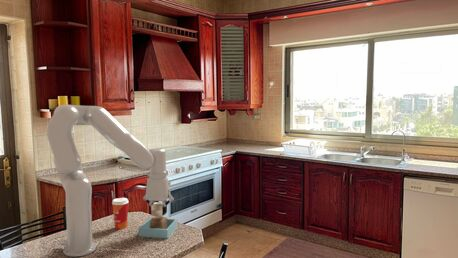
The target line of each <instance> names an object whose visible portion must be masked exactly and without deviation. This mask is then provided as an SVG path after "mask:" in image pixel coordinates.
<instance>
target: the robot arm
mask: <svg viewBox="0 0 458 258" xmlns="http://www.w3.org/2000/svg"><path fill="white" fill-rule="evenodd" d="M74 126H92V127H93V128H94V129H95V130H96V131H97V132H98V133H99V134H100V135H101V136H102V137H103V138H104V139H106V141H108V142H109V143H110V144H111V145H112V146H113V147H115V148H116V149H118V150H119V151H121V152H122V153H124V155H126V156H128V158H129V159H130V161H131V163H132V164H133V165H135V166H136V167H138V168H139V169H143V170H147V169H149V171H148V172H146V176H148V177H147V182H146V188H145V195H144V196H143V197H142V199H143V200H144V201H145V202H146V203H147V204H148V206H149V212H150V213H151V205H152V204H154V203H155V202H156V201H157V202H162V203H163V207H162V209H163V216H165V215H166V214H167V212H168V205H169V204H170V203H172V201H174V197H173V196H172V194H171V193H170V192H171V191H170V190H171V189H170V182H169V179H168V177H167V158H166V157H167V153H166V152H167V151H166V150H165V149H164V148H161V147H160V148H158V147H157V148H150V149H149V148H148V149H147V147H145V146H144V144H142V142H140V141H139V140H138V139H137V138H136V137H135V136H133V134H132V133H131V132H129V131H128V130H127V129H126V128H125V127H124V126H123V125H122V124H121V123H120V122H119V121H118V120H117V119H116V118H115V117H114V116H113V115H112V114H111V113H110V112H109V111H108V110H106V109H105V108H104V107H102V106H97V105H78V104H76V105H75V104H60V105H59V106H57V107H56V108H55V109H54V111H53V115H52V116H51V118H50V119H49V122H48V124H47V126H46V127H47V128H46V137H47V140H48V144H49V146H50V150H51V153H52V155H53V159H52V160H53V164H54V167H55V170H56V172H57V175H58V178H59V180H60V182H61V185H62V187H63V190H64V192H65V219H66V220H65V221H66V237H61V238H60V242H59V245H61V246H64V248H63V255H64V256H67V257H71V258H73V257H74V258H75V257H83V256H86V255H90V254H92V253H93V252H94V251H95V250H97V249H98V244H97V243H96V242H95V241H93V219H92V217H93V216H92V215H93V214H92V193H93V192H92V191H93V188H92V183H91V181H90V179H89V178H88V177H87V175H85V172H84V170H83V167H82V158H81V156H80V154H79V152H78V149H77V146H76V144H75V140H74V137H73V133H72V131H73V127H74Z"/></svg>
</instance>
